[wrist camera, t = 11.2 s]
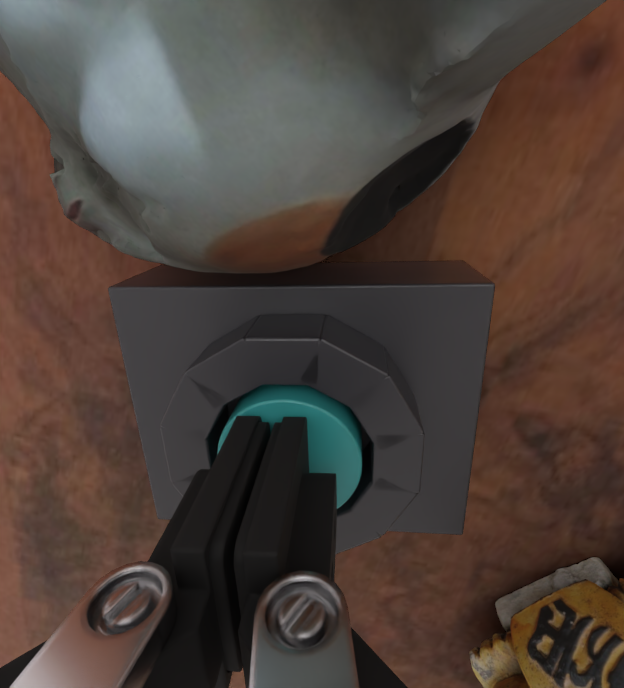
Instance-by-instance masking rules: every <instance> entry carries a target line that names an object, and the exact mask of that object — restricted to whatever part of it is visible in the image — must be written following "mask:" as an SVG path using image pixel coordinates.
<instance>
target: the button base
mask: <svg viewBox="0 0 624 688" xmlns="http://www.w3.org/2000/svg"><path fill="white" fill-rule="evenodd" d="M494 290H495V284H494V283H493V282H491V281H490V280H489V279H487V278H486V277H485V276H483V275H482V274H481V273H479V272H478V271H477V270H475V269H474V268H472V267H471V266H470V265H468V264H467V263H466V262H464V261H408V262H342V263H315V264H313V265H310V266H306V267H301V268H297V269H293V270H288V271H282V272H275V273H218V272H198V271H192V270H187V269H182V268H177V267H173V266H169V265H160V266H158V267H155V268H153V269H151V270H148V271H146V272H144V273H141V274H139V275H137V276H134V277H132V278H129V279H127V280H125V281H122V282H120V283H118V284H115V285H113V286H111V287H109V288H108V291H109V295H110V300H111V305H112V309H113V314H114V319H115V323H116V328H117V332H118V337H119V342H120V346H121V351H122V356H123V360H124V365H125V369H126V374H127V379H128V383H129V388H130V392H131V397H132V402H133V406H134V411H135V416H136V420H137V425H138V429H139V434H140V439H141V443H142V448H143V452H144V457H145V462H146V466H147V471H148V476H149V480H150V485H151V489H152V494H153V499H154V503H155V508H156V512H157V517H158V519H168V520H171V518H172V516H173V514H174V513H175V511H176V509H177V507H178V505H179V503H180V501H181V500H182V498H183V496H184V494H185V492H186V490H187V489H188V487H189V485H190V483H191V481H192V479H193V477H194V476H195V474H196V473H197V471H198V470H200V469H211V467H212V465H213V463H214V461H215V459H216V457H217V451H218V443H219V439H220V436H221V434H222V431H223V429H224V427H225V426H226V424H227V422H228V420H229V418H230V416H231V414H232V413H233V411H234V409H235V407H236V405H237V403H238V401H239V399H240V398H241V396H242V395H244V394H246V393H248V392H250V391H252V390H254V389H255V388H257V387H259V386H261V385H308V386H310V387H312V388H314V389H316V390H318V391H320V392H321V393H323V394H325V395H327V396H329V397H331V398H333V399H335V400H337V401H339V402H341V403H342V404H344V405H346V406H348V407H350V408H351V410H352V411H353V413H354V414H355V416H356V417H357V419H358V420H359V422H360V424H361V429H362V473H361V477H360V481H359V483H358V486H357V488H356V490H355V491H354V493H353V494H352V496H351V497H350V498H349V499H348V500H347V501H346V502H345V503H344V504H343V505H342V506H341V507H339V508H338V509H337V527H336V552H335V554H338V553H340V552H343V551H346V550H348V549H351V548H354V547H356V546H359V545H362V544H364V543H367V542H370V541H372V540H375V539H378V538H380V537H381V536H382V535H384V534H385V533H386V532H387V531H397V532H417V533H436V534H455V535H462V534H463V529H464V521H465V513H466V506H467V498H468V490H469V483H470V475H471V467H472V459H473V452H474V444H475V436H476V429H477V421H478V413H479V406H480V398H481V390H482V382H483V375H484V367H485V359H486V352H487V344H488V336H489V329H490V321H491V313H492V306H493V298H494Z"/></svg>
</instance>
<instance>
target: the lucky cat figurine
mask: <svg viewBox="0 0 624 688" xmlns="http://www.w3.org/2000/svg"><path fill="white" fill-rule="evenodd" d="M605 1H606V0H0V71H1V72H2V73H3V74H4V75H5V76H6V77H7V78H8V79H9V80H10V81H11V82H12V83H13V84H14V85H15V87H16V88H17V89H18V90H19V91H20V93H21V94H22V95H23V96H24V97H25V98H26V99H27V100H28V101H29V103H30V104H31V105H32V106H33V108H34V109H35V110H36V112H37V113H38V115H39V116H40V117H41V118H42V120H43V121H44V122H45V124H46V125H47V127H48V128H49V130H50V133H51V140H50V149H51V154H52V156H53V157H54V168H55V173H52V174H50V177H51V179H52V181H53V184H54V187H55V188H56V190H57V194H58V200H59V202H60V204H61V206H62V208H63V211H64V215H65V216H66V217H67V218H69V219H70V220H71V221H73V222H74V223H75V224H77V225H79V226H80V227H82V228H84V229H86V230H88V231H90V232H92V233H93V234H95V235H96V236H98V237H99V238H101V239H102V240H103V241H105V242H107V243H109V244H112V245H113V246H114V247H115V248H116V249H117V250H119V251H121V252H123V253H125V254H128V255H131V256H133V257H135V258H138V259H143V260H147V261H150V262H156V263H163V264H166V265H169V266H173V267H177V268H182V269H187V270H192V271H198V272H218V273H275V272H282V271H288V270H293V269H297V268H301V267H306V266H310V265H313V264H315V263H317V262H320V261H322V260H324V259H325V258H327V257H329V256H331V255H333V254H336V253H339V252H342V251H345V250H347V249H349V248H351V247H353V246H355V245H357V244H359V243H361V242H362V241H364V240H366V239H367V238H369V237H371V236H373V235H374V234H376V233H377V232H379V231H380V230H381V229H382V228H384V227H385V226H386V225H387V224H388V223H389V222H390V221H391V220H392V219H393V218H394V217H395V215H396V213H397V212H398V211H400V210H402V209H403V208H405V207H406V206H408V205H409V204H410V203H411V202H413V201H414V200H415V199H416V198H417V197H418V196H420V195H421V194H422V193H423V192H425V191H426V190H427V189H428V188H429V187H430V186H432V185H433V184H434V183H435V182H436V181H437V180H438V179H439V178H440V177H441V176H442V175H443V174H444V173H445V172H446V171H447V170H448V168H449V167H450V166H451V164H452V163H453V162H454V160H455V159H456V158H457V157H458V156H459V155H460V153H461V152H462V150H463V149H464V147H465V145H466V144H467V142H468V141H469V140H470V138H471V137H472V135H473V134H474V133H475V131H476V130H477V128H478V125H479V122H480V119H481V116H482V114H483V112H484V110H485V108H486V106H487V104H488V103H489V101H490V99H491V97H492V95H493V93H494V91H495V89H496V86H497V85H498V83H499V81H500V80H501V79H502V78H503V77H505V76H506V75H507V74H508V73H509V72H510V71H512V70H513V69H515V68H516V67H517V66H519V65H520V64H521V63H523V62H524V61H525V60H527V59H528V58H530V57H531V56H533V55H534V54H535V53H537V52H538V51H540V50H541V49H542V48H544V47H545V46H547V45H548V44H549V43H551V42H552V41H553V40H555V39H556V38H557V37H559V36H560V35H561V34H563V33H564V32H565V31H567V30H568V29H569V28H571V27H572V26H573V25H575V24H576V23H577V22H579V21H580V20H581V19H583V18H584V17H585V16H587V15H588V14H589V13H590V12H592V11H593V10H594V9H596V8H597V7H598V6H600V5H601V4H602V3H604V2H605Z"/></svg>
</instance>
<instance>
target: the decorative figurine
mask: <svg viewBox="0 0 624 688" xmlns="http://www.w3.org/2000/svg"><path fill="white" fill-rule="evenodd" d="M495 606H496V610H497V615H498V617H499V619H500V621H501V624H502V626H503V628H504V629H505V630H506V633H505V632H504V633H502V634H497V633H495V634H494V635H493V639H491V638H488V639H486V640H484V641H482V644H481V647H480V648H479V647H475V648H474V649H472V650H471V651H470V652H469V655H470V660H471V665H472V669H473V671H474V673H475V675H476V677H477V678H478V680H479V681H480V683H481V684H482V685H483V687H484V688H624V579H623V578H619V581H618V580H617V578H616V577H614V575H613V574H612V573H611V571H610V570H609V568H608V567H607V566H606V565H605V564H604V563H603V561H602V560H601V559H600V558H597V557H592V558H589V559H587V560H585V561H582V562H580V563H579V564H574V565H572V566H570V567H564V568H560V569H557V570H556V571H555V573H552V574H551V575H549V576H546V577H544V578H542V579H540V580H537V581H535V582H533V583H531V584H529V585H527V586H524V587H523V588H522V589H518V590H517V591H514V592H512V594H508V595H505V596H503V597H502V598H499V599H498V600H497V601H496V603H495Z"/></svg>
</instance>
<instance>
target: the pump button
mask: <svg viewBox="0 0 624 688" xmlns="http://www.w3.org/2000/svg"><path fill="white" fill-rule="evenodd" d="M237 416H260V417H261V419H262V422H268V423H269V425H270V435H271V432H272V429H273V426H274V423H275V422H282V419H283V417H306V418H307V431H308V454H309V473H336V481H337V509H338V508H339V507H341V506H342V505H343V504H344V503H345V502H346V501H347V500H348V499H349V498H350V497H351V496H352V494H353V493H354V491H355V490H356V488H357V486H358V483H359V481H360V477H361V473H362V429H361V424H360V422H359V420H358V419H357V417H356V416H355V414H354V413H353V411H352V410H351V408H350V407H348V406H346V405H344V404H342V403H341V402H339V401H337V400H335V399H333V398H331V397H329V396H327V395H325V394H323V393H321V392H320V391H318V390H316V389H314V388H312V387H310V386H308V385H261V386H259V387H257V388H255V389H254V390H252V391H250V392H248V393H246V394H244V395H242V396H241V398H240V399H239V401H238V403H237V405H236V407H235V409H234V411H233V413H232V414H231V416H230V418H229V420H228V422H227V424H226V426H225V427H224V429H223V431H222V434H221V436H220V439H219V443H218V451H217V455H218V453H219V451H220V449H221V447H222V445H223V443H224V441H225V439H226V437H227V435H228V433H229V431H230V429H231V427H232V425H233V423H234V421H235V419H236V417H237Z"/></svg>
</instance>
